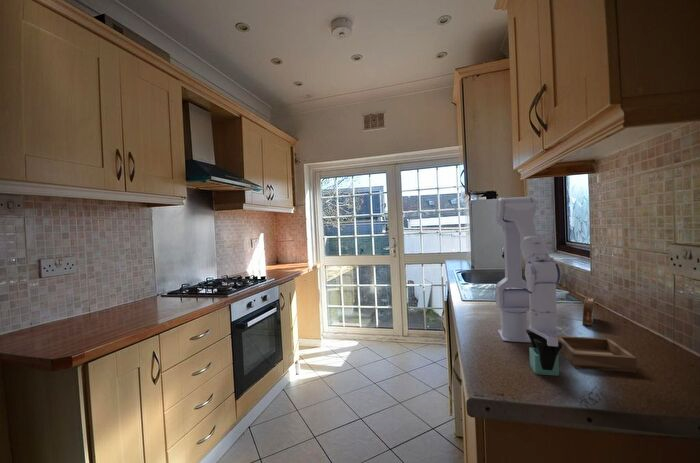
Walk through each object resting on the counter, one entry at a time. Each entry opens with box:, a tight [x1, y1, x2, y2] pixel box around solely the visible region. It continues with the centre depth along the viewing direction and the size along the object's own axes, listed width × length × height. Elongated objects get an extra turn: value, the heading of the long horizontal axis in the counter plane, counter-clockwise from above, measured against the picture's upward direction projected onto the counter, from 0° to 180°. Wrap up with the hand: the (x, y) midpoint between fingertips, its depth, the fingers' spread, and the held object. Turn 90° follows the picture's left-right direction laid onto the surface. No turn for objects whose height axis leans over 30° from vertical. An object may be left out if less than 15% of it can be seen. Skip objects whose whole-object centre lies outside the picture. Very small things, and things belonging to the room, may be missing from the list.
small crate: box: [528, 347, 560, 376], centre depth 80 cm, size 5×5×4 cm
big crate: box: [557, 335, 638, 374], centre depth 85 cm, size 13×13×4 cm
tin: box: [582, 296, 596, 327], centre depth 114 cm, size 15×3×8 cm, turn 141°
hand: (543, 364), depth 80 cm, fingers closed on small crate, 5 cm apart
